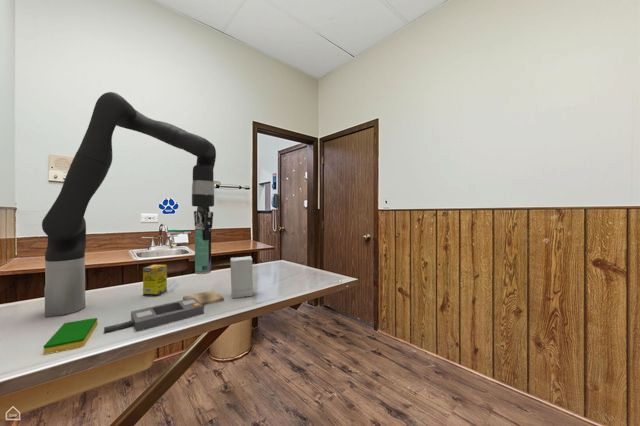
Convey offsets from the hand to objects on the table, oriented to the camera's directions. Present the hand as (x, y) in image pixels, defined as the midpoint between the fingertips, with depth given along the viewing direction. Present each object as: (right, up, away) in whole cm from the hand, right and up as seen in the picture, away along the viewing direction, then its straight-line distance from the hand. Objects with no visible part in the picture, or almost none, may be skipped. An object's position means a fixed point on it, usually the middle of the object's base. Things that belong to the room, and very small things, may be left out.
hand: (203, 239), depth 94 cm
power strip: (-7, -23, -16) cm, 29 cm away
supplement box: (-22, -23, +7) cm, 32 cm away
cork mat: (0, -23, +1) cm, 23 cm away
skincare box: (+12, -23, +6) cm, 27 cm away
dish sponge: (-22, -24, -27) cm, 42 cm away
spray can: (0, -13, 0) cm, 13 cm away
